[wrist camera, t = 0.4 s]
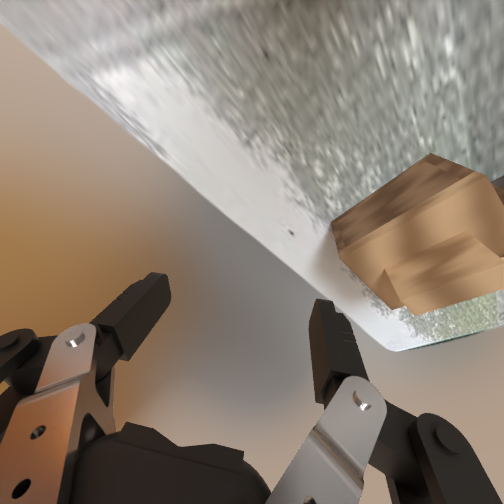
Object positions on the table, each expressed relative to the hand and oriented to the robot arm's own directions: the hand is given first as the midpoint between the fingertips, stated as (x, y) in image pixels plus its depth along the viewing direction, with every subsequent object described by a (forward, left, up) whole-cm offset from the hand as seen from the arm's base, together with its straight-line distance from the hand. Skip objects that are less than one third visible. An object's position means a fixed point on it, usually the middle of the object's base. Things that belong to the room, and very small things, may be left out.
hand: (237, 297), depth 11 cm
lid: (-8, +18, -17) cm, 25 cm away
